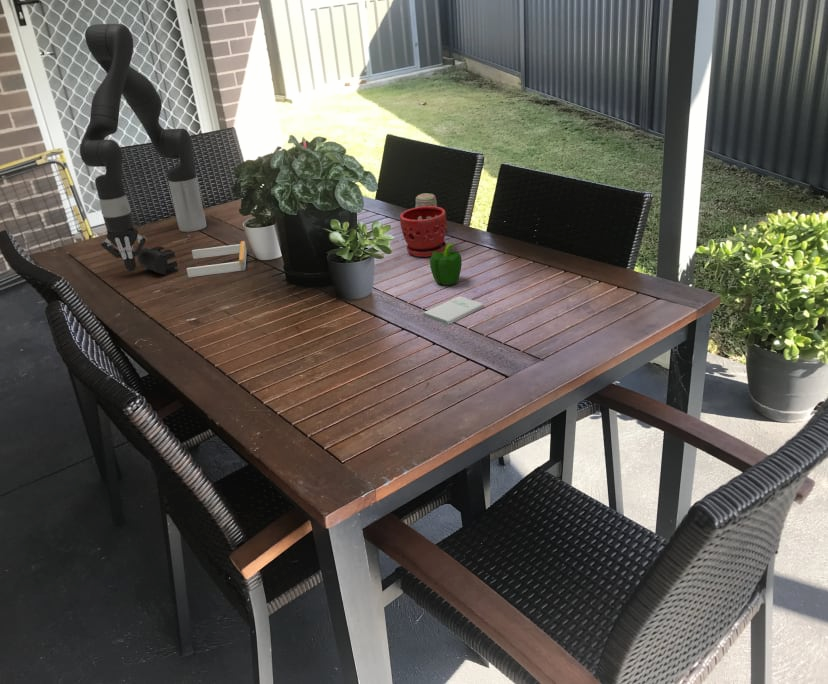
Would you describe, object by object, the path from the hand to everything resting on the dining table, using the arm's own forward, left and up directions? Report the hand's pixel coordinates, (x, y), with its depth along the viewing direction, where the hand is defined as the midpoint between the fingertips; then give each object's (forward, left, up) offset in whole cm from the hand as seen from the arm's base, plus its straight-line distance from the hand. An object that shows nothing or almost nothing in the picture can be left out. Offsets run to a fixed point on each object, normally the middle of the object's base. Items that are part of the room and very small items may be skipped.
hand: (131, 269), depth 212 cm
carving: (-4, +89, -2) cm, 89 cm away
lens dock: (0, +25, -2) cm, 25 cm away
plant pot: (+13, +85, -2) cm, 86 cm away
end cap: (0, +8, -2) cm, 8 cm away
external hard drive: (+57, +83, -2) cm, 100 cm away
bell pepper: (+38, +86, -2) cm, 94 cm away
